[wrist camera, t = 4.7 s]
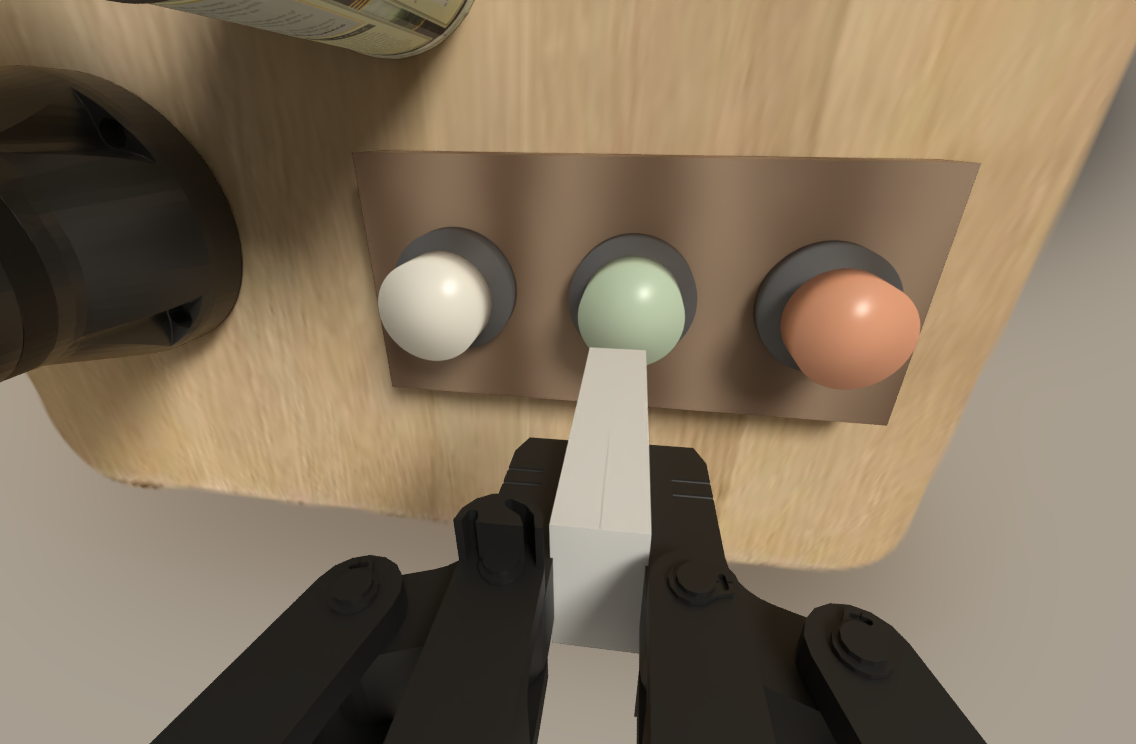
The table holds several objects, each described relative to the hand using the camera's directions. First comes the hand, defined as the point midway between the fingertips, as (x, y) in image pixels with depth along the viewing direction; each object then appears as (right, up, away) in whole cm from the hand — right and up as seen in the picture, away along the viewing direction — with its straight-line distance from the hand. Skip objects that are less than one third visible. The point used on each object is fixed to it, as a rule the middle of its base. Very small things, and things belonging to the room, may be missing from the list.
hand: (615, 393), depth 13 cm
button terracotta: (+10, +3, +7) cm, 12 cm away
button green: (+2, +4, +8) cm, 9 cm away
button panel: (+2, +6, +12) cm, 14 cm away
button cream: (-7, +4, +9) cm, 12 cm away
